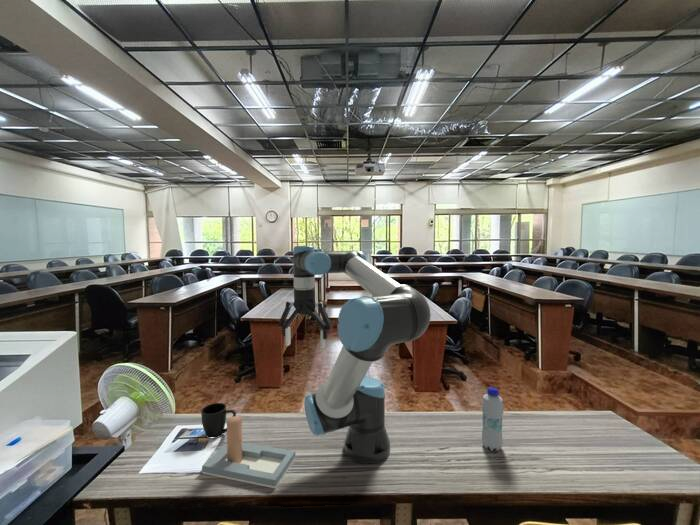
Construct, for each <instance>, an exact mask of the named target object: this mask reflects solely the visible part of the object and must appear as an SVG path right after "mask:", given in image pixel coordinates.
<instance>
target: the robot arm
mask: <svg viewBox="0 0 700 525" xmlns="http://www.w3.org/2000/svg"><path fill="white" fill-rule="evenodd" d="M292 249H293V250H292V251H293V252H292V258H293V259H292V262H293V264H292V265H293V288H294V290H293V300H294V301H292V300H288V301H286V302H285V308H284V309H283V312H282V315H281V316H280V319H279V321H278V324H277V325H278V327H281V328H283V330H282V331H283V332H282V335H283V337H285V347H289V346H290V345H291V344H292V343H291V339H292V338H291V337H292V336H291V332H292V331H291V326H290V325H291V323H292V322H293V321H294V320H295V318H296V317H297V316H298V315H307V316H308V315H309V316H310V317H312V318H313V320H315V322H316V323H317V325H319V327H320V328H321V330H320V349H321V350H323V349H325V348H326V340H327V339H328V336H329V335H328V330H330V329H332V328H333V324H332V321H331V319H330V317H329V314H328V313H327V311H326V309H325V306H324V301H320V302H316V289H315V287H316V286H315V285H316V280H315V276H321V275H322V276H323V275H325V274H340V273H341V274H343V273H344V274H346V276H348V277H349V278H351V279H352V280H353V281H354V282H356V284H358V285H359V286H360V287H361V288H363V289H364V290H365V291H366V292H368V294H370V295H371V296H370V295H363V296H359V297H355V298H352V299H349V300H347V301H346V302H345V303H344V304H343V305H342V307H341V308H340V310H339V314H338V318H337V322H338V324H337V334H338V337H339V340H340V343H341V345H342V347H341V348H340V351H339V354H338V355H337V358H336V360H335V363H334V364H333V367H332V370H331V371H330V373H329V376H328V377H327V380H326V381H324V382H323V383H321V384H320V385H319V386H318V388H317V390H316V391H315V393H310V394H308V395H306V396H305V398H304V399H303V400H304V401H303V402H304V403H303V405H304V413H305V416H306V417H305V418H306V421H307V424H308V428H309V430H310V432H311V433H312V434H313V435H314V436H322V435H326V434H328V433H331V432H335V431H338V430H340V429H344V428H348V429H347V431H346V433H345V438H344V443H343V444H344V447H343V448H344V453H345V455H346V456H347V457H349V459H351V460H353V461H355V462H357V463H362V464H375V463H378V462H379V463H380V462H381V461H383V460H385V459H386V458H387V457H388V456H389V455H390V453H391V441H390V438H389V435H388V432H387V428H386V424H385V422H386V420H385V416H386V415H385V414H386V413H385V410H386V409H385V408H386V406H385V399H386V392H385V387H384V386H385V385H384V383H383V382H382V381H381V380H379V379H377V378H376V377H371V376H366V374H367V373H368V372H369V369H370V367H372V365H373V363H375V362H377V361H380V360H381V359H383V358H384V356H385V355H386V353H387V352H388V350H389V348H390V347H391V346H392V345H397V344H401V343H408V342H413V341H415V340H416V339H418V338H420V337H421V336H423V334H424V333H425V332H426V331H427V329H428V328H429V325H430V321H431V308H430V305H429V303H428V300H427V299H426V298H425V297H424V295H423V294H422V293H420V292H419V291H418V290H417V289H415V288H413V287H412V286H411V285H408V284H400V283H399V282H398V281H396V280H394V279H393V278H392V277H391V276H389V275H387V274H386V273H385V272H383V271H381V270H380V269H378V268H377V267H375V266H374V265H373V264H371V263H369V262H368V260H367V256H366V255H365V252H363V251H361V250H353V249H352V250H334V251H333V250H331V251H329V250H326V251H325V250H324V251H319V250H315V247H314V246H313V245H295V246H294V247H293V248H292ZM292 307H294V310H293V312H292V314H291V315H290V316H289V317H288V315H289V314H290V312H291V309H292ZM315 308H317V309H318V311H319V313H318V312H317V310H316V309H315ZM319 314H320V315H319ZM287 318H288V319H287Z"/></svg>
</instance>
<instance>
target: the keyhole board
mask: <svg viewBox="0 0 700 525" xmlns="http://www.w3.org/2000/svg"><path fill="white" fill-rule="evenodd" d="M295 460H296V450H290V449H284V448H279V447H273V446H266V445H260V444H253V443H248V442H243V441H242V462H241V463H236V462H230V461H227V442H226V443H224V444H223V445H222V447H220V448H219V449H218V450H217V451H216V452H215V453H214V454H213V455H212V456H211V457H210V458H209V459H208V460H207V461H205V462H204V463H203V465H202V466H201V467H202V468H201V470H202V472H201V474H203V475H207V476H208V475H209V476H214V477H217V478H223V479H227V480H233V481H237V482H240V483H241V482H243V483H246V484H247V483H248V484H252V485H256V486H262V487H267V488H271V489H277V487H278V486H279V484H280V483H281V481H282V480H283V478H284V477H285V475H286V473H287V472H288V471H289V469H290V467H291V466H292V465H293V463H294V461H295Z"/></svg>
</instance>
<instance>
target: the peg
mask: <svg viewBox="0 0 700 525" xmlns="http://www.w3.org/2000/svg"><path fill="white" fill-rule="evenodd" d="M226 428H227V432H226V443H227V461H230V462H236V463H241V462H242V442H243V417H241V416H238V415H236V416H234V417H233V416H231V417H229V418H227V419H226Z"/></svg>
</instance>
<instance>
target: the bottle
mask: <svg viewBox="0 0 700 525" xmlns="http://www.w3.org/2000/svg"><path fill="white" fill-rule="evenodd" d="M499 392H500V391H499V390H498V388H497V387H494V386H489V387H488V388H487V391H486V393H485V394H483V396H482V401H481V410H482V429H481V430H482V431H481V443H482V444H483V446H484V448H485V449H488V448H489V449H490V451H493V452H494V449H495V451H496V452H499V451H500V450H501V449H502V446H503V415H504V413H505V412H504V411H505V410H504V409H505V408H504V402H503V397H501V396H499V395H500V394H499Z"/></svg>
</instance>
